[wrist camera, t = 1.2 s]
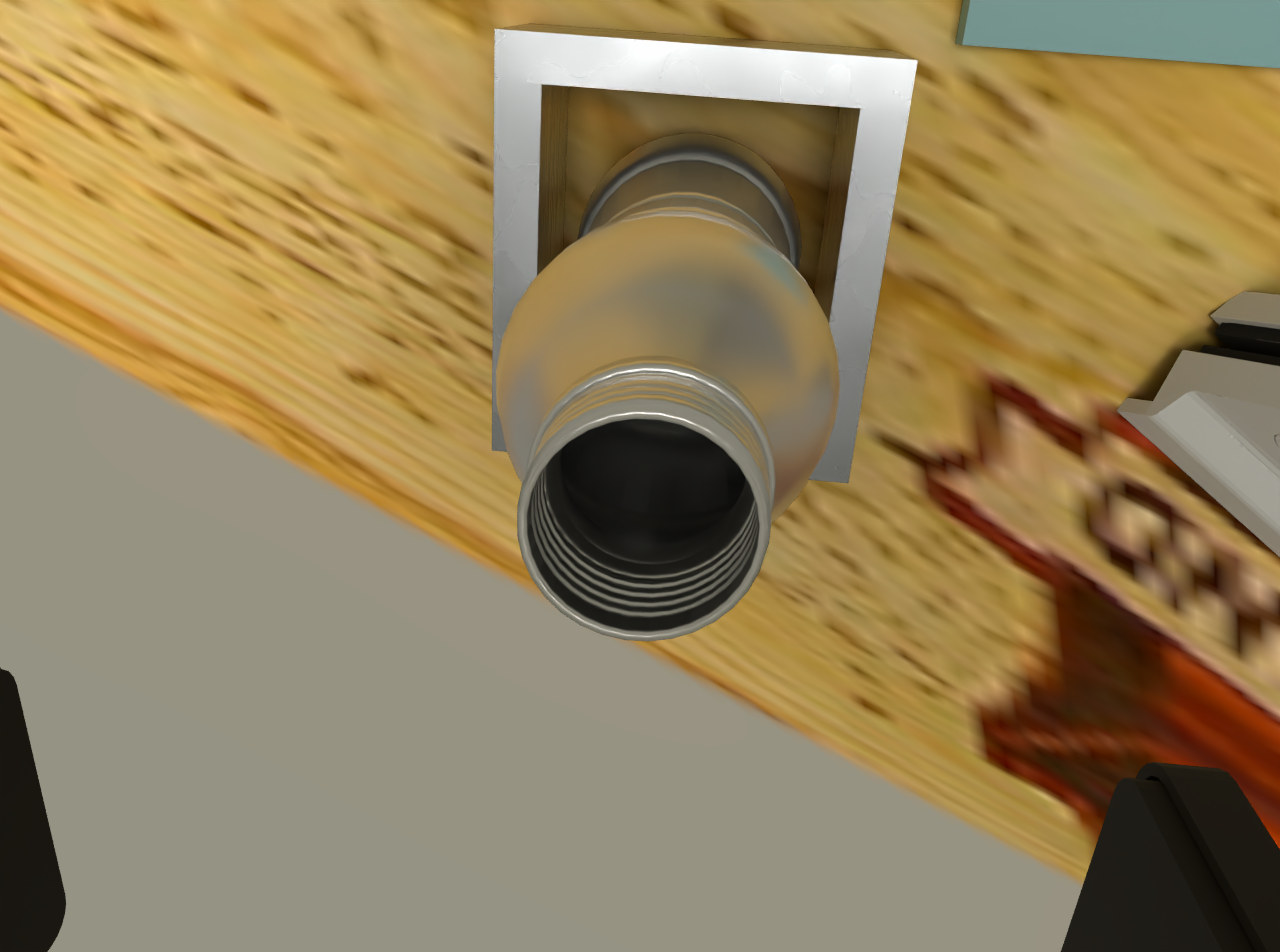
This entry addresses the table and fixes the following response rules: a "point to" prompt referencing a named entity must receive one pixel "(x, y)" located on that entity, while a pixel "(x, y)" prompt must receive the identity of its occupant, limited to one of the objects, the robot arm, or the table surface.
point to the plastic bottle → (666, 391)
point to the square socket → (712, 67)
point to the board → (1130, 28)
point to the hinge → (1226, 414)
